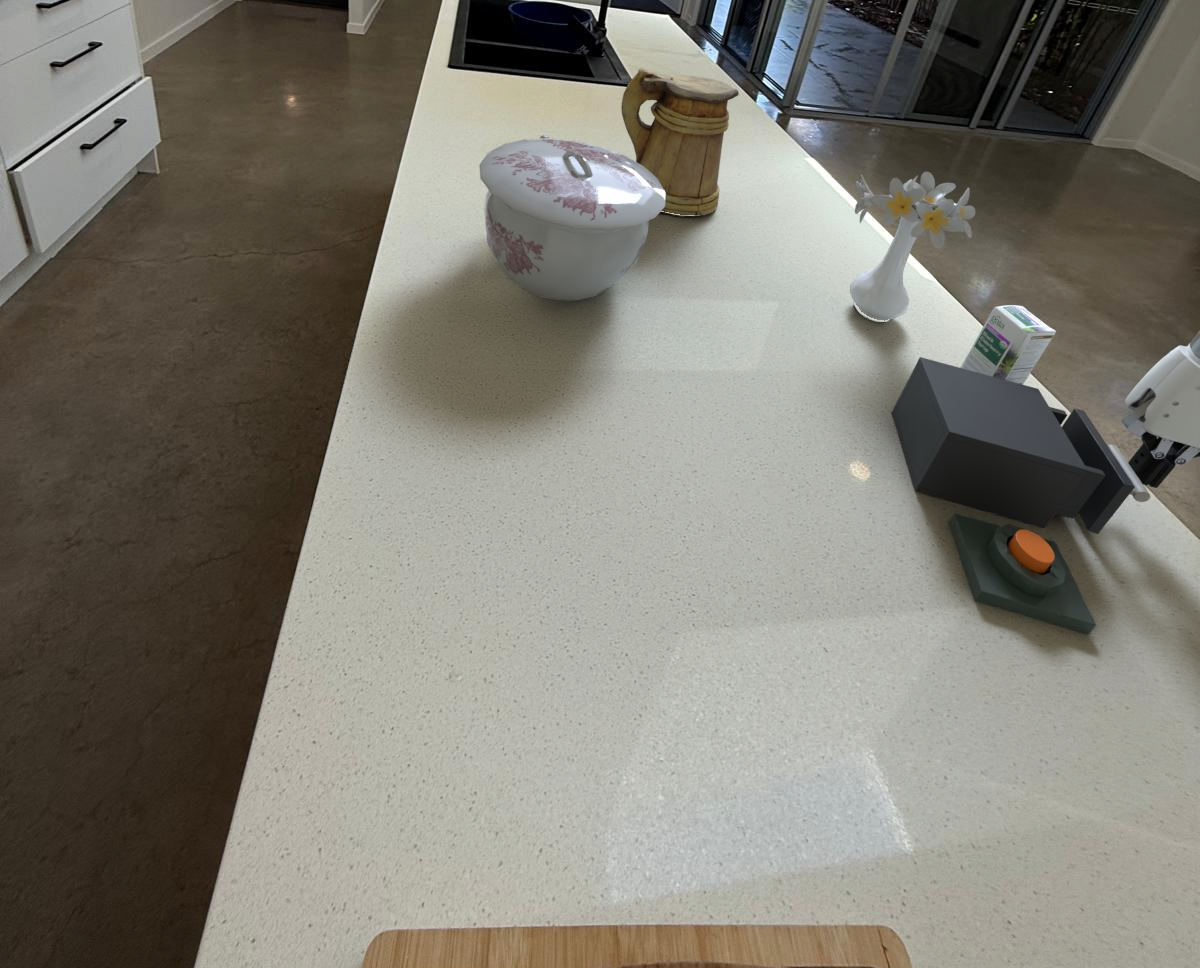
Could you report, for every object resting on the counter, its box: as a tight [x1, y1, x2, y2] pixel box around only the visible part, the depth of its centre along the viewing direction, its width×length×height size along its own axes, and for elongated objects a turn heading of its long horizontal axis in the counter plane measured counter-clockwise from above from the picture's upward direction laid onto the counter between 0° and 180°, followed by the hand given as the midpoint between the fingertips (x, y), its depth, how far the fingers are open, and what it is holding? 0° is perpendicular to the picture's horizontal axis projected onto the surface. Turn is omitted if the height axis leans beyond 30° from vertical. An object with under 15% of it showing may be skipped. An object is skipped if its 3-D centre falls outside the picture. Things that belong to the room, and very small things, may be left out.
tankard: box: [621, 68, 740, 216], centre depth 128 cm, size 18×24×25 cm
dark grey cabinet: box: [890, 356, 1088, 529], centre depth 79 cm, size 15×13×10 cm
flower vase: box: [849, 171, 976, 321], centre depth 104 cm, size 13×18×25 cm
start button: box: [1008, 529, 1055, 573], centre depth 67 cm, size 4×4×2 cm
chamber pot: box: [478, 134, 666, 302], centre depth 98 cm, size 28×28×21 cm
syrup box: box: [959, 304, 1057, 385], centre depth 91 cm, size 6×6×14 cm
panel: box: [947, 512, 1097, 636], centre depth 68 cm, size 11×9×4 cm
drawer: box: [1049, 406, 1151, 535], centre depth 79 cm, size 18×12×8 cm, turn 79°
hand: (1141, 476), depth 77 cm, fingers closed
